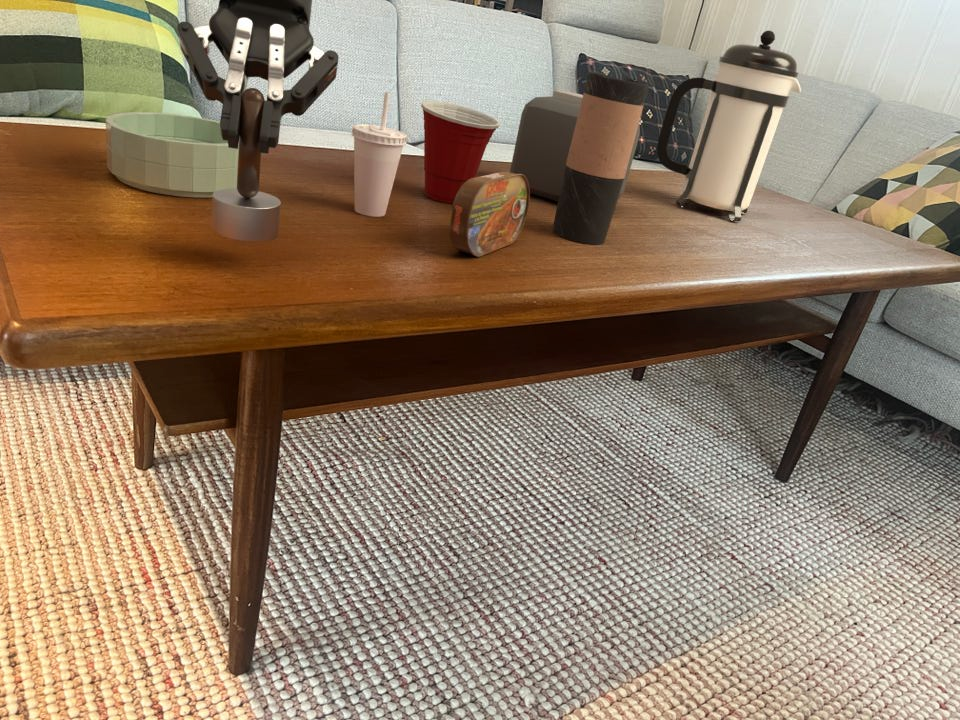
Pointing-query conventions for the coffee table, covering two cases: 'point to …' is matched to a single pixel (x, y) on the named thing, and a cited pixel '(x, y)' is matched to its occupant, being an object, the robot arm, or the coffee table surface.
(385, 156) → the smoothie
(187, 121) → the bowl
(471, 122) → the plastic cup
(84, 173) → the coffee table surface
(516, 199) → the tin
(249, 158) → the wooden handle stamp
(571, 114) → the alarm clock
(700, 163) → the coffee press
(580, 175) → the travel mug
